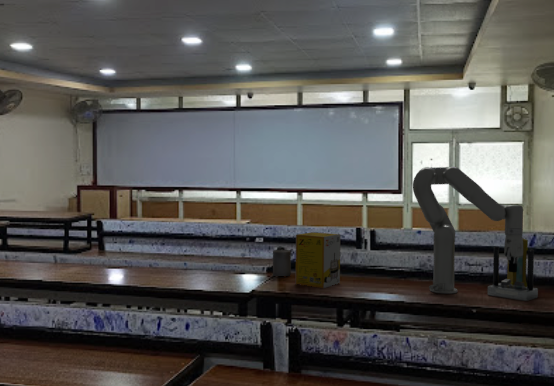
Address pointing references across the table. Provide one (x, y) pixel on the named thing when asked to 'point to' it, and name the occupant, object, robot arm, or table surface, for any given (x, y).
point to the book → (519, 267)
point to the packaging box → (318, 259)
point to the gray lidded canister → (281, 263)
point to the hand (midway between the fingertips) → (512, 271)
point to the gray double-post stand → (510, 289)
